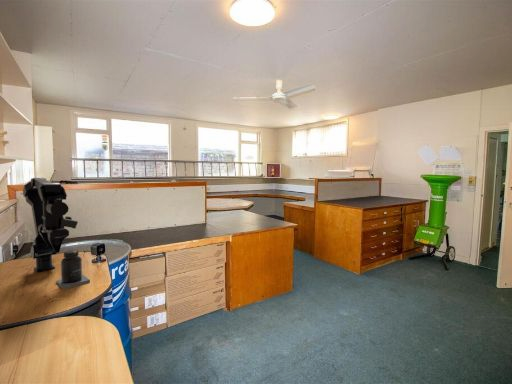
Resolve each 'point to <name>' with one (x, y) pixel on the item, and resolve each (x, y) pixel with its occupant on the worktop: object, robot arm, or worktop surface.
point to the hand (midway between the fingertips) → (54, 250)
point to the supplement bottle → (71, 267)
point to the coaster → (69, 285)
